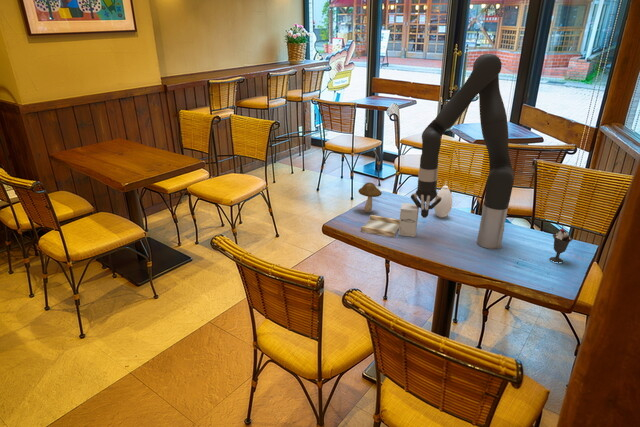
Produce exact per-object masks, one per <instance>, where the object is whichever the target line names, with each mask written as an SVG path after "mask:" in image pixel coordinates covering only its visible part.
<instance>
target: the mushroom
mask: <svg viewBox="0 0 640 427" xmlns="http://www.w3.org/2000/svg"><path fill="white" fill-rule="evenodd" d="M358 194H359V195H361V196H364V197H367V200H366V203H365V205H364V208H363V210H364V213H371V211H372V210H373V198H376V197H380V196H381V195H382V194H383V193H382V191H381V190H380V189H379V188H377V186H376V185H375V184H374V183H373V182H366V183H364V184H363V185H362V187H360V188H359V189H358Z"/></svg>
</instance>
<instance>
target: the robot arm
mask: <svg viewBox="0 0 640 427" xmlns="http://www.w3.org/2000/svg"><path fill="white" fill-rule="evenodd" d="M502 65H503V64H502V61H501V59H500V57H499V56H497V55H496V54H493V53H483V54H482V55H479V56H478V57H477V58H476V59H475V61H474V62H473V66H472V71H471V73H470V74H469V76H468V78H467V80H466V81H465V82H464V83H463V85H462V86H461V87H460V88H459V89H458V91H456V92H455V94H453V96H452V97H451V98H450V99H449V100H448V101H447V102H446V104H445V105H444V106H443V107H442V109H441V110H440V111H439V113H438V114H437V116H436V117H435V118H434V119H433V120H432V121H431V122H430V123H428V125H427V126H426V127H425V129H424V130H423V131H422V133H421V142H422V143H421V144H422V145H421V155H420V158H419V160H420V161H419V162H420V163H419V169H418V175H417V188H416V191H415V193H412V194H411V195H410V199H411V200H412V202H413V204H416V206H417V207H418V208H419V209H420V210H421V212H420V215H421V217H422V219H423V218H424V219H427V217H428V216H429V213H430V210H433V209H434V207H435V206H436V205H437V204H438V203H439V202H440V201H441V199H442V198H441V197H439V196H438V195H437V194H438V192H437V183H438V176H439V172H438V171H439V170H438V168H439V153H440V150H441V143H442V136H443V135H444V133H445V132H446V131H447V130H449V129H451V128H452V127H453V126H454V125H455V123H456V122H457V121H458V120H459V118H461V116H462V114H464V112H465V111H466V110H467V108H468V107H469V106H470V104H471V103H472V102H473V100H474V99H475V98H476V97H477V96H478V99H479V120H480V128H481V134H482V138H483V141H484V145H485V147H486V150H487V153H488V160H489V161H488V162H489V173H488V176H487V181H486V186H485V191H484V198H483V199H484V200H483V205H482V212H481V216H480V221H479V227H478V233H477V234H478V235H477V237H476V244H478V246H480V247H483V248H486V249H488V250H489V249H491V250H494V249H499V250H500V249H501V246H502V240H503V237H504V232H505V226H506V225H505V223H506V220H507V214H508V209H509V205H510V200H511V196H512V191H513V188H514V179H515V173H514V170H513V165H512V163H511V157H510V150H509V126H508V124H509V123H508V118H507V117H508V116H507V110H506V108H505V104H504V100H503V98H502V95H501V91H500V81H499V80H500V78H499V75H500V72H501V71H502ZM435 198H436V199H435ZM419 200H420V201H419ZM433 200H434V202H432V201H433ZM431 202H432V203H431ZM430 204H431V205H430Z"/></svg>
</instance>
